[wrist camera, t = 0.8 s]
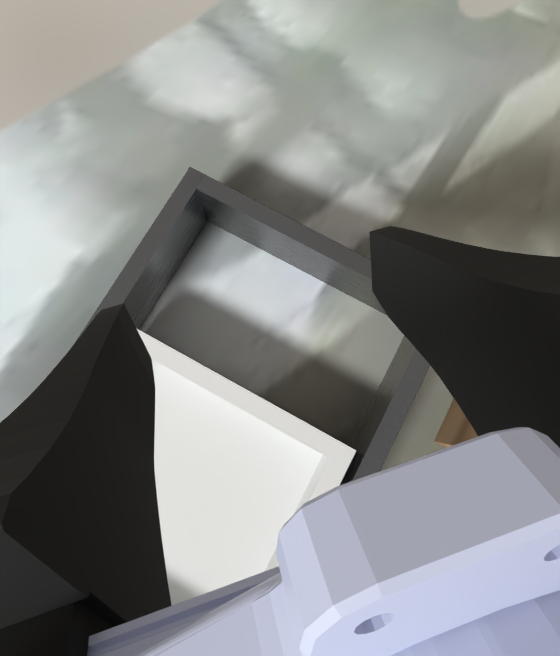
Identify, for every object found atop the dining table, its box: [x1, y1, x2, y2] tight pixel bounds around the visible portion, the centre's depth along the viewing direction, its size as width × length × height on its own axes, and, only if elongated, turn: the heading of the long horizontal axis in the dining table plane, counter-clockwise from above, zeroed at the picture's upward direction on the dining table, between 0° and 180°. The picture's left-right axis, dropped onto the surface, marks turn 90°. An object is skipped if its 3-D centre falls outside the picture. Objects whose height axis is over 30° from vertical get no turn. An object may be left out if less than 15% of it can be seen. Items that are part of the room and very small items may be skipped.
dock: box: [77, 167, 430, 486], centre depth 23 cm, size 17×14×4 cm
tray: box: [136, 328, 356, 605], centre depth 22 cm, size 14×14×4 cm
